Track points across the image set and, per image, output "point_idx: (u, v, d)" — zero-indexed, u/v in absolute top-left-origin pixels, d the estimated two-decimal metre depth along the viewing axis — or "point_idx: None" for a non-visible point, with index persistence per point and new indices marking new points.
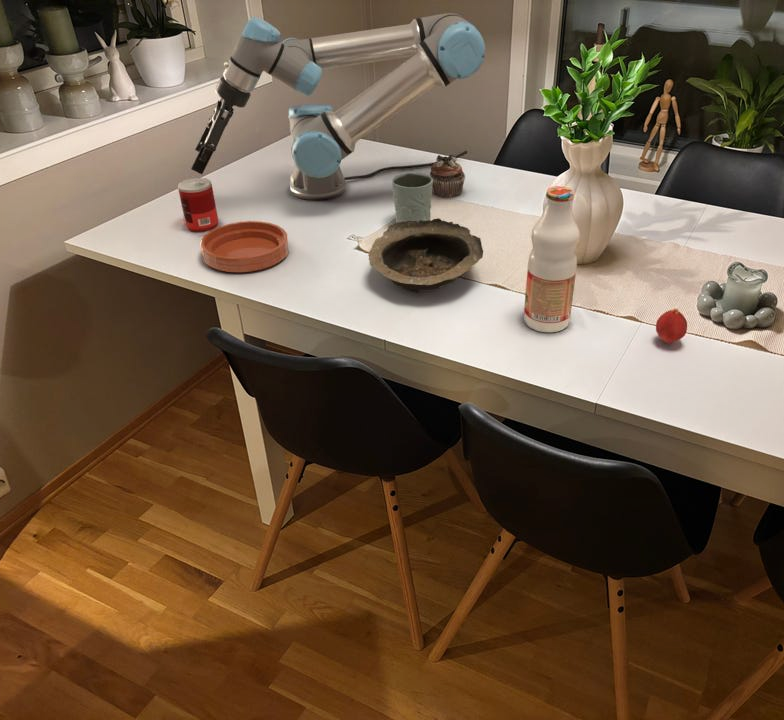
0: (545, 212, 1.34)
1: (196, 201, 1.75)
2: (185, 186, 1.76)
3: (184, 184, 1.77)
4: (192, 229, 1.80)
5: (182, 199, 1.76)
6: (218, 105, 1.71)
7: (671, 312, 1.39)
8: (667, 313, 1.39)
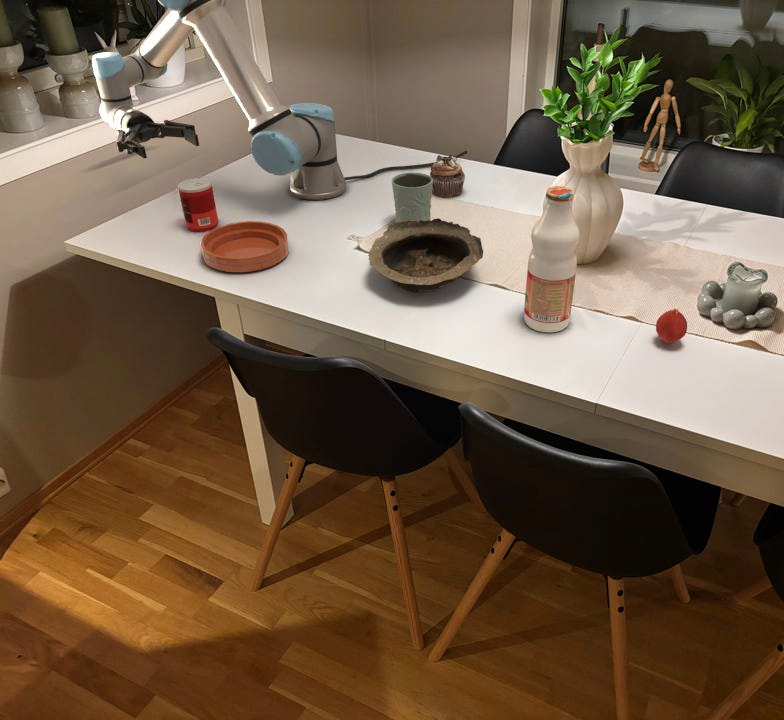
0: (545, 212, 1.34)
1: (196, 201, 1.75)
2: (185, 186, 1.76)
3: (184, 184, 1.77)
4: (192, 229, 1.80)
5: (182, 200, 1.76)
6: None
7: (671, 312, 1.39)
8: (667, 313, 1.39)
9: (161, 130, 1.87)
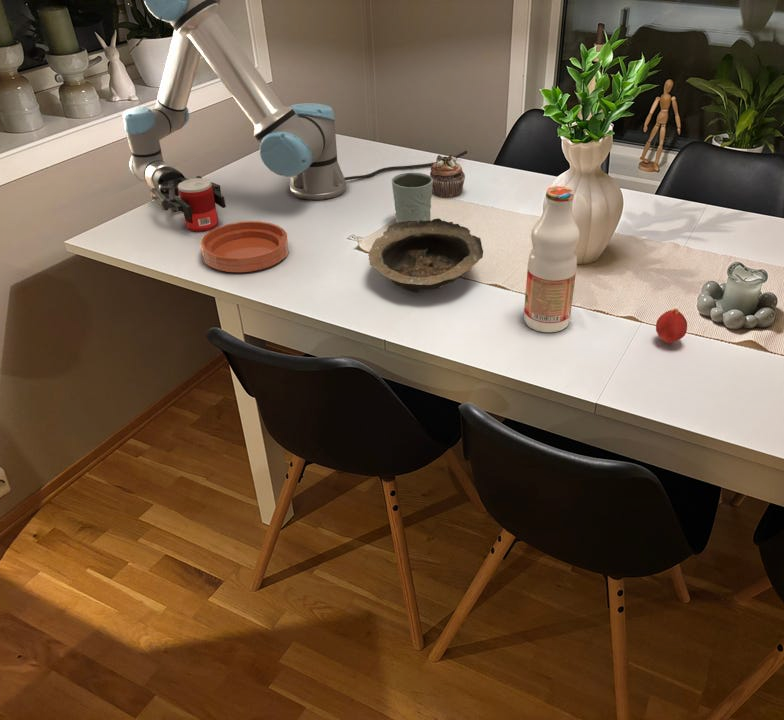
0: (545, 212, 1.34)
1: (196, 201, 1.75)
2: (185, 186, 1.76)
3: (184, 184, 1.77)
4: (192, 229, 1.80)
5: (182, 199, 1.76)
6: None
7: (671, 312, 1.39)
8: (667, 313, 1.39)
9: None
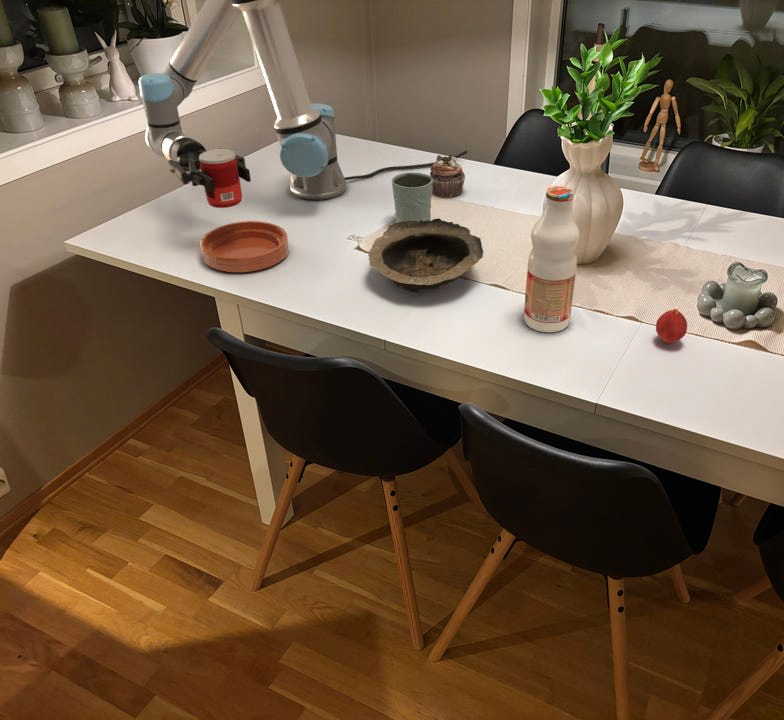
0: (545, 212, 1.34)
1: (219, 173, 1.60)
2: (207, 157, 1.61)
3: (206, 155, 1.62)
4: (214, 205, 1.64)
5: (204, 172, 1.60)
6: None
7: (671, 312, 1.39)
8: (667, 313, 1.39)
9: None
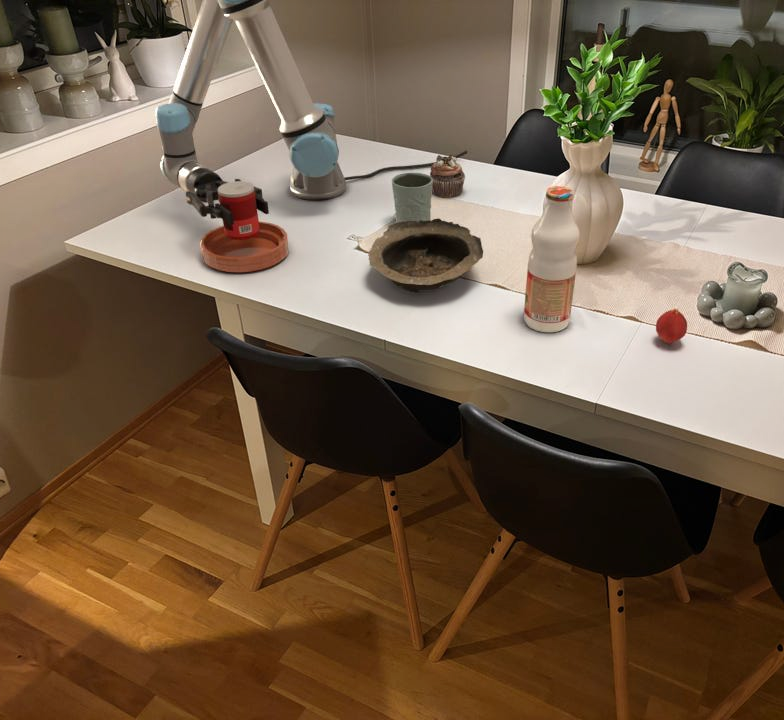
0: (545, 212, 1.34)
1: (238, 206, 1.60)
2: (225, 190, 1.61)
3: (224, 188, 1.62)
4: (232, 237, 1.64)
5: (223, 205, 1.60)
6: None
7: (671, 312, 1.39)
8: (667, 313, 1.39)
9: None
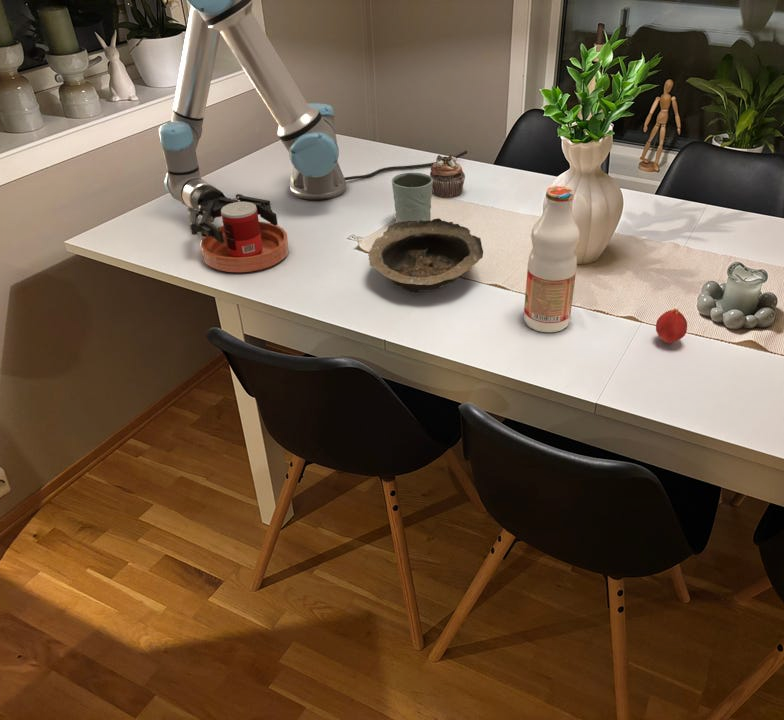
0: (545, 212, 1.34)
1: (241, 227, 1.63)
2: (229, 211, 1.64)
3: (227, 208, 1.65)
4: None
5: (226, 225, 1.63)
6: None
7: (671, 312, 1.39)
8: (667, 313, 1.39)
9: None
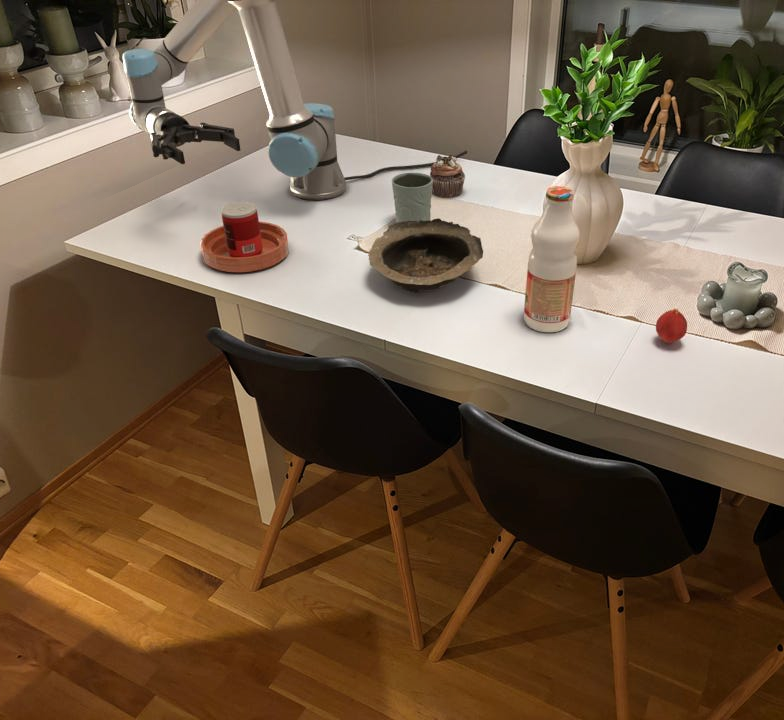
0: (545, 212, 1.34)
1: (241, 227, 1.63)
2: (229, 211, 1.64)
3: (227, 208, 1.65)
4: None
5: (226, 225, 1.63)
6: None
7: (671, 312, 1.39)
8: (667, 313, 1.39)
9: (198, 133, 1.73)
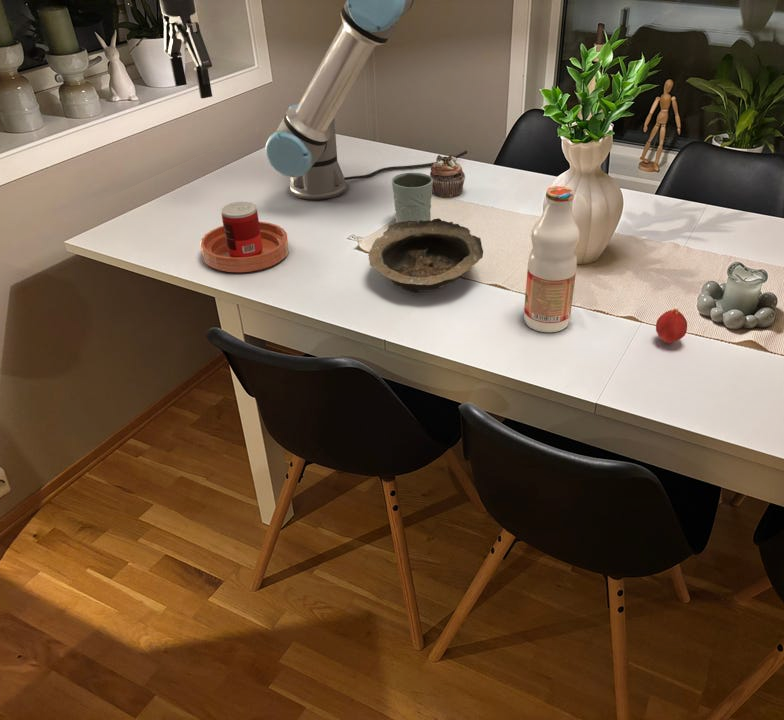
0: (545, 212, 1.34)
1: (241, 227, 1.63)
2: (229, 211, 1.64)
3: (227, 208, 1.65)
4: None
5: (226, 225, 1.63)
6: (177, 26, 1.68)
7: (671, 312, 1.39)
8: (667, 313, 1.39)
9: None
